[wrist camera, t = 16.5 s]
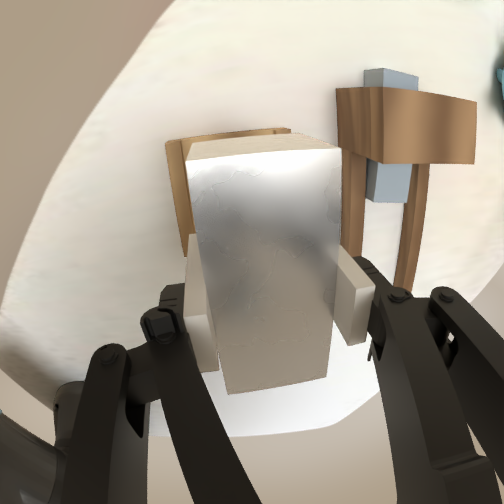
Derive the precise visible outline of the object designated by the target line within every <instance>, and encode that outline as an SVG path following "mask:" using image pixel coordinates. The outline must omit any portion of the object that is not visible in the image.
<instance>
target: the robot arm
mask: <svg viewBox="0 0 504 504" xmlns="http://www.w3.org/2000/svg"><path fill="white" fill-rule="evenodd" d="M333 320H334V321H335V323H336V325H337V327H338V329H339V330H340V332H341V334H342V336H343V338H344V340H345V341H346V343H347V345H348V346H351V345H355V344H359V343H363V342H365V341H366V336H367V331H368V332H369V334H370V335H371V337H372V340H371V345H370V349H369V354H368V361H370V359H371V356H373V360H374V365H375V369H376V373H377V378H378V383H379V387H380V392H381V397H382V402H383V407H384V412H385V417H386V423H387V429H388V434H389V440H390V446H391V453H392V460H393V467H394V474H395V482H396V489H397V504H502V499H501V495H500V491H499V486H498V483H497V479H496V475H495V471H496V473H497V475H498V477H499V479H500V480H501V482H502V484H503V485H504V340H503V338H502V337H501V336H500V335H499V334H498V333H497V332H496V331H495V330H494V329H493V328H492V326H491V325H490V324H489V323H488V322H487V321H486V320H485V319H484V318H483V317H482V316H481V315H480V314H479V313H478V312H477V311H476V310H475V309H474V308H473V307H472V306H471V305H470V304H469V303H468V302H467V301H466V300H465V299H464V298H463V297H462V296H461V295H460V294H459V293H458V292H456V291H455V290H454V289H451V288H449V287H443V286H441V287H436V288H434V289H433V290H432V292H431V295H430V298H414V297H413V295H412V294H411V293H410V292H409V291H408V290H406V289H404V288H401V287H393V286H392V285H391V284H390V283H389V281H388V280H387V279H386V278H385V277H384V276H383V275H382V274H381V273H379V271H378V269H377V268H375V266H374V265H373V264H372V263H371V262H370V261H369V260H367V259H365V258H363V257H362V256H356V257H351V256H350V255H349V254H348V253H347V252H346V250H345V249H344V248H343V247H342V246H341V245H340V244H339V257H338V267H337V281H336V294H335V306H334V317H333ZM140 325H141V327H142V330H143V333H144V335H145V338H146V340H147V342H146V343H145V344H143V345H141V346H139V347H136V348H133V349H130V350H127V351H126V349H125V348H124V347H123V346H122V345H120V344H115V343H111V344H107V345H104V346H102V347H100V348H99V349H97V350H96V351H95V352H94V354H93V356H92V358H91V361H90V364H89V368H88V371H87V375H86V378H85V382H72V383H68V384H65V385H63V386H62V387H60V388H59V390H58V391H57V394H56V397H55V400H54V404H53V411H54V425H55V436H56V441H55V445H54V446H52V445H50V444H49V443H47V442H45V441H44V440H42V439H40V438H38V437H37V436H36V435H34V434H32V433H31V432H29V431H28V430H26V429H25V428H23V427H21V426H20V425H19V424H17V423H16V422H14V421H13V420H11V419H10V418H8V417H7V416H6V415H4V414H3V413H2V410H1V409H0V504H147V459H148V433H149V415H150V402H152V401H155V400H158V399H161V403H162V407H163V411H164V414H165V418H166V421H167V425H168V428H169V431H170V435H171V438H172V441H173V445H174V447H175V451H176V454H177V457H178V460H179V463H180V466H181V469H182V472H183V475H184V477H185V480H186V483H187V486H188V488H189V491H190V494H191V496H192V499H193V502H194V504H262V503H261V501H260V499H259V497H258V495H257V494H256V492H255V490H254V488H253V486H252V484H251V482H250V480H249V478H248V476H247V474H246V472H245V470H244V468H243V466H242V464H241V462H240V460H239V458H238V456H237V454H236V452H235V450H234V448H233V446H232V444H231V442H230V440H229V437H228V435H227V433H226V431H225V429H224V427H223V424H222V422H221V420H220V418H219V416H218V413H217V411H216V409H215V406H214V404H213V402H212V399H211V397H210V395H209V392H208V390H207V388H206V385H205V383H204V380H203V378H202V376H201V373H203V372H211V371H219V362H218V351H217V340H216V335H215V330H214V325H213V320H212V315H211V310H210V305H209V300H208V295H207V290H206V285H205V282H204V277H203V271H202V265H201V260H200V254H199V248H198V242H197V236H196V234H189V242H188V253H187V266H186V279H185V283H181V284H173V285H167V286H166V287H165V288H164V289H163V291H162V292H161V295H160V302H159V306H157V307H154V308H152V309H150V310H148V311H147V312H145V313H144V314H143V316H142V317H141V320H140ZM450 332H451V333H452V335H453V336H454V339H453V341H452V342H451V341H450V340H449V339H448V336H449V333H450ZM467 424H468V425H469V427H470V428H471V430H472V432H473V433H474V435H475V437H476V438H477V440H478V441H479V443H480V445H481V447H482V448H483V450H484V452H485V454H486V455H487V456H480V455H478V454H477V453H476V451H475V448H474V445H473V441H472V438H471V435H470V432H469V428H468V426H467ZM494 470H495V471H494Z"/></svg>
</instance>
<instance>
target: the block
mask: <svg viewBox="0 0 504 504" xmlns="http://www.w3.org/2000/svg"><path fill="white" fill-rule="evenodd" d="M186 169H187V177H188V184H189V191H190V197H191V204H192V211H193V217H194V224H195V230H196V236H197V242H198V248H199V254H200V260H201V265H202V271H203V277H204V282H205V285H206V290H207V295H208V300H209V305H210V310H211V315H212V320H213V325H214V330H215V335H216V340H217V348H218V353H219V357H220V362H221V367H222V371H223V376H224V380H225V385H226V389H227V393H228V395H229V394H237V393H244V392H251V391H257V390H263V389H269V388H275V387H281V386H286V385H291V384H296V383H301V382H306V381H311V380H315V379H320V378H324V377H326V374H327V367H328V360H329V352H330V344H331V335H332V327H333V317H334V306H335V294H336V281H337V267H338V257H339V240H340V217H341V172H342V151H341V148H339V147H337V146H334V145H331V144H329V143H326V142H323V141H320V140H318V139H315V138H312V137H309V136H306V135H303V134H300V133H289V134H273V135H260V136H248V137H238V138H228V139H219V140H211V141H203V142H196V143H192V145H191V148H190V151H189V153H188V156H187V159H186Z"/></svg>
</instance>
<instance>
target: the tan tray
mask: <svg viewBox="0 0 504 504" xmlns="http://www.w3.org/2000/svg"><path fill="white" fill-rule="evenodd" d="M289 133H291V129H287V128H273V129H260V130H249V131H238V132H229V133H220V134H212V135H205V136H197V137H191V138H184V139H178V140H171V141H167V142H166V143H165V147H166V154H167V161H168V167H169V174H170V180H171V186H172V192H173V198H174V204H175V210H176V215H177V221H178V226H179V232H180V237H181V242H182V247H183V252H184V257H187V253H188V242H189V234H196V230H195V224H194V217H193V211H192V204H191V197H190V191H189V184H188V177H187V169H186V159H187V156H188V153H189V151H190V148H191V145H192V143H196V142H203V141H211V140H219V139H228V138H238V137H248V136H260V135H273V134H289Z"/></svg>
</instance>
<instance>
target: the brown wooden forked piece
mask: <svg viewBox="0 0 504 504" xmlns="http://www.w3.org/2000/svg"><path fill="white" fill-rule="evenodd" d="M336 99H337V121H338V147H340V148H342V221H341V246H342V247H343V248H344V249H345V250H346V252H347V253H348V254H349V255H350V256H351V257H356V256H361V253H362V242H363V228H364V212H365V191H366V157H367V158H369V159H372V160H374V161H377V162H379V163H381V164H412V171H411V178H410V185H409V192H408V198H407V203H405V205H404V215H403V224H402V233H401V240H400V248H399V255H398V261H397V267H396V273H395V279H394V285H393V287H401V288H404V289H406V290H408V291H409V292H410V293H411V291H412V287H413V282H414V277H415V272H416V267H417V262H418V256H419V251H420V245H421V238H422V232H423V225H424V218H425V210H426V201H427V191H428V180H429V167H430V164H474V161H475V147H476V124H477V102H474V101H470V100H465V99H460V98H456V97H451V96H445V95H440V94H434V93H428V92H422V91H415V90H408V89H400V88H391V87H356V88H339V89H336Z"/></svg>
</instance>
